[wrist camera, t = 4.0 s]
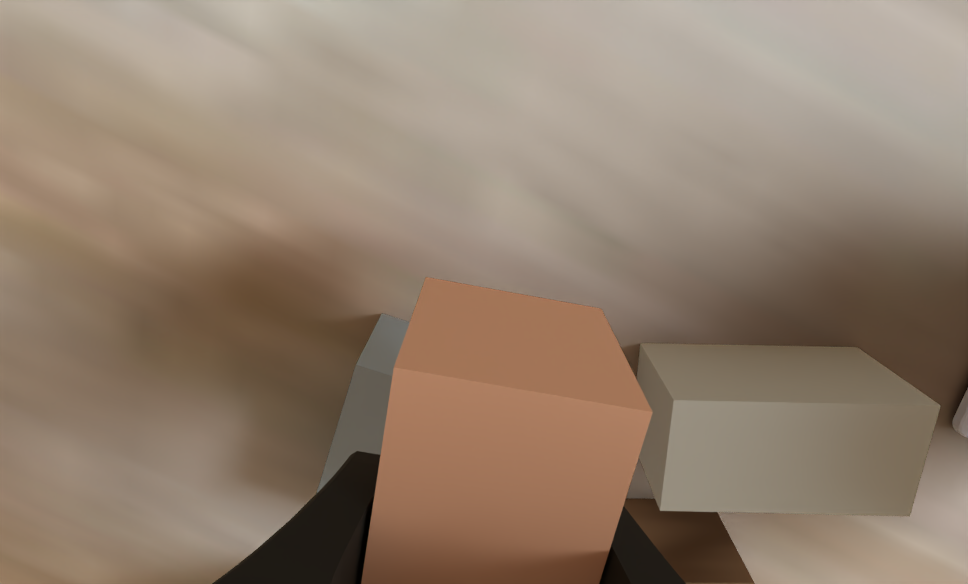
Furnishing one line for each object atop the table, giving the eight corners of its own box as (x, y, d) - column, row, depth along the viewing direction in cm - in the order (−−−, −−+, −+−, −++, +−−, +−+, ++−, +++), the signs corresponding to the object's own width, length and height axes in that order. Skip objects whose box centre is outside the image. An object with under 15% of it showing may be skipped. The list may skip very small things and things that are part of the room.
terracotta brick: (601, 308, 12) (653, 412, 8) (528, 584, 14) (541, 767, 10) (425, 277, 12) (394, 367, 8) (380, 561, 14) (337, 738, 10)
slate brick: (484, 344, 20) (482, 404, 16) (421, 511, 22) (406, 598, 18) (382, 311, 19) (355, 364, 16) (329, 483, 22) (293, 567, 18)
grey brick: (639, 341, 20) (673, 400, 16) (854, 345, 20) (940, 405, 16) (629, 434, 21) (659, 510, 17) (833, 439, 21) (909, 516, 17)
